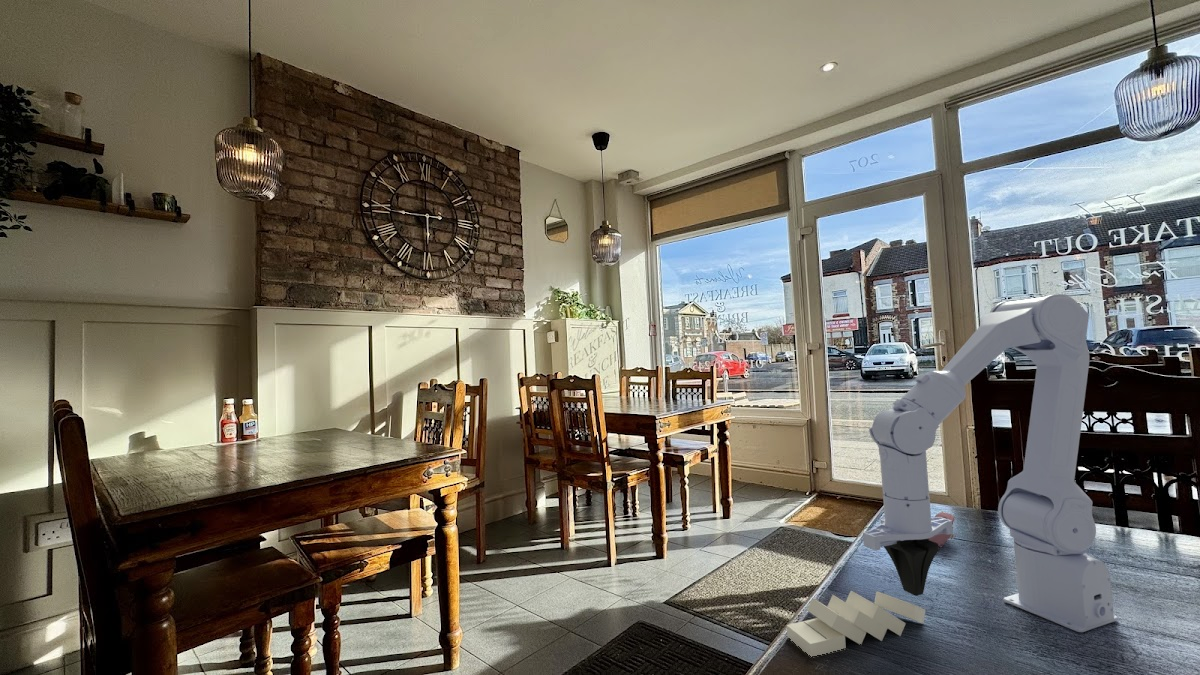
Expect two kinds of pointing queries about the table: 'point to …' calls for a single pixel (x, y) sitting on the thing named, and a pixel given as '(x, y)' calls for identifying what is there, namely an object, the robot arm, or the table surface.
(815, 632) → the domino
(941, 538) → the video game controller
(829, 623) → the domino
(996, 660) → the table surface
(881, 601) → the domino
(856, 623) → the domino
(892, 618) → the domino
